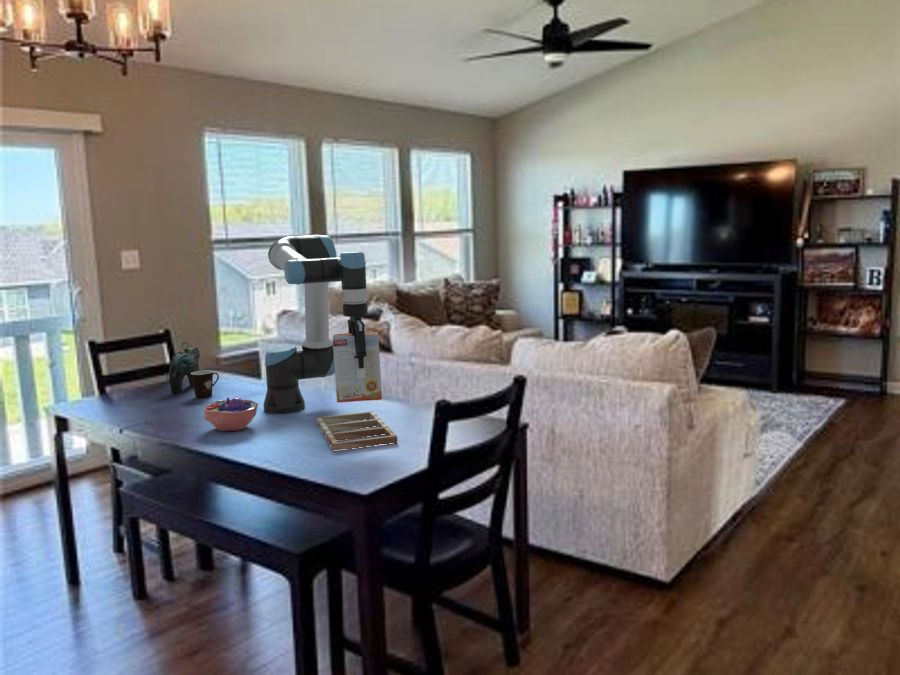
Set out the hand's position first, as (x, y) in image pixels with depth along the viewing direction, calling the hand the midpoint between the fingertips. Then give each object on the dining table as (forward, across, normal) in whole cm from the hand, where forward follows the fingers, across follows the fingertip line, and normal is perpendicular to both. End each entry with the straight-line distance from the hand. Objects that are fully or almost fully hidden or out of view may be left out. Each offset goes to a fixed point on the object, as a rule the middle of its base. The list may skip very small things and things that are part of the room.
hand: (358, 375), depth 229 cm
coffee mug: (+22, -89, -45) cm, 102 cm away
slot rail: (+22, -11, 0) cm, 24 cm away
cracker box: (+8, 0, 0) cm, 8 cm away
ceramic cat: (+22, -107, -53) cm, 121 cm away
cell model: (+22, -34, -38) cm, 55 cm away
